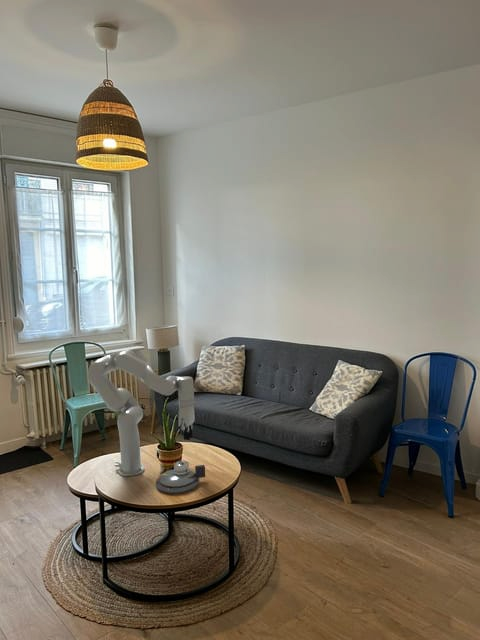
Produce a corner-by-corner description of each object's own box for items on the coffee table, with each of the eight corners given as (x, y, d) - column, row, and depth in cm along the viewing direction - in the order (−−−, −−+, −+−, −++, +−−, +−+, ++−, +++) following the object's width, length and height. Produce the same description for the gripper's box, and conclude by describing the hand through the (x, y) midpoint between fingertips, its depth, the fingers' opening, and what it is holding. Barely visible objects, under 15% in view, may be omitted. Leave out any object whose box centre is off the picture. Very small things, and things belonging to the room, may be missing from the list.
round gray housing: (152, 485, 217) (152, 475, 216) (168, 470, 233) (168, 460, 232) (194, 490, 211) (193, 479, 210) (207, 474, 227) (207, 464, 226)
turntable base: (148, 491, 216) (148, 486, 216) (167, 473, 235) (167, 468, 235) (189, 496, 210) (188, 491, 210) (205, 477, 229) (205, 472, 229)
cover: (171, 474, 224) (170, 466, 224) (177, 468, 232) (177, 459, 231) (186, 476, 222) (185, 467, 222) (192, 469, 229) (191, 461, 229)
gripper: (185, 397, 241) (187, 432, 243) (172, 406, 226) (174, 443, 228) (199, 398, 238) (201, 433, 240) (187, 407, 223) (188, 445, 225)
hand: (188, 438), depth 234 cm, fingers closed
